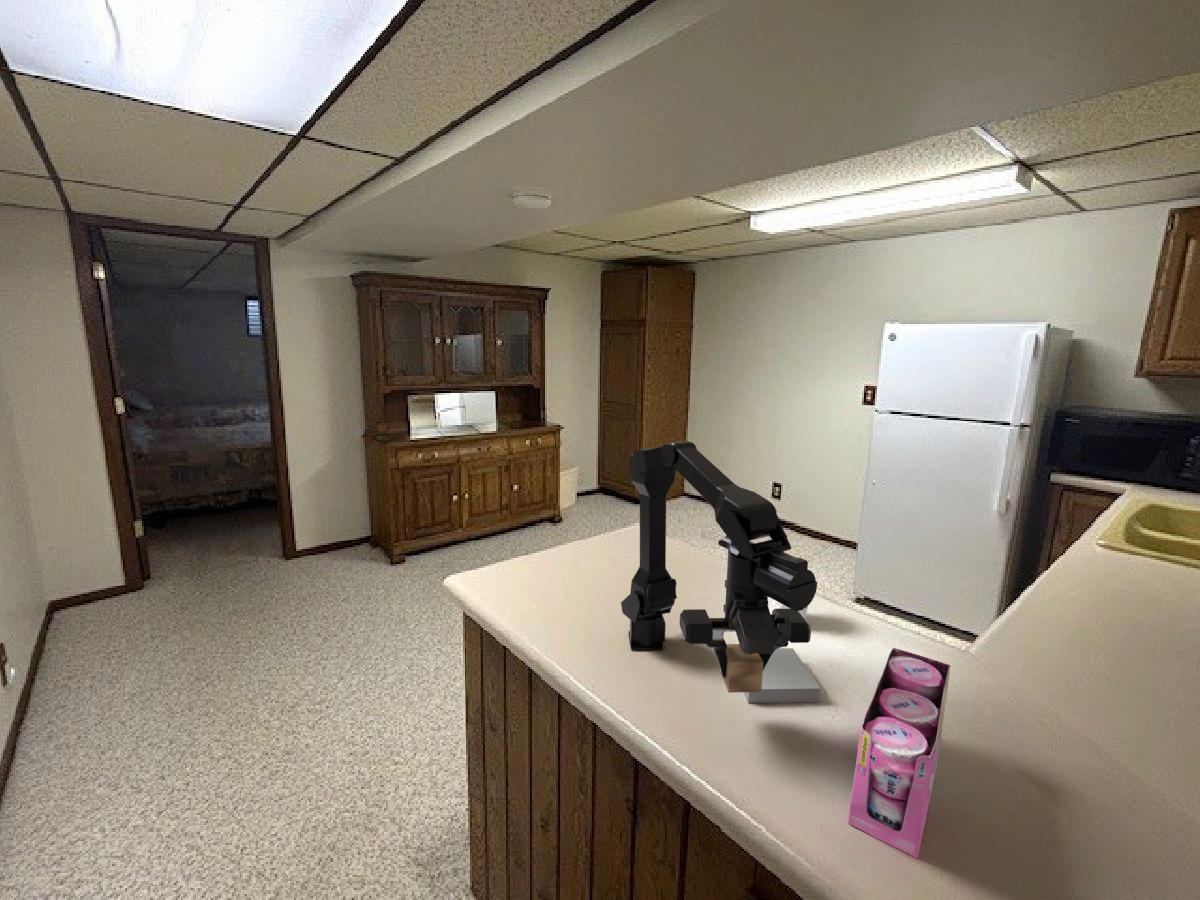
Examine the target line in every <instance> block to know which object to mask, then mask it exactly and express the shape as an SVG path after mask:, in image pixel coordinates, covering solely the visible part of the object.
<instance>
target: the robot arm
mask: <svg viewBox="0 0 1200 900" xmlns="http://www.w3.org/2000/svg"><path fill="white" fill-rule="evenodd" d="M628 464H629V470H630V479H631V482H632V484H633V485H634V487H635V488H636V490H637V493H639V567H638V568H637V570H636V572H635V573H634V575H633V577H632V579H631V583H630V592H629V593H630V594H628V596H626V597H625V598H624V599H623V600H622V601H620V602H621V603H620V606H621V607H620V608H621V612H622V614H623V615H624V616H625V617H627V618H628V619H629V630H628V632H627V634H628V639H629V648H630V650H631V651H660V650H664V649H665V645H664V643H665V642H666V628H667V627H666V624H667V623H666V619H665V617H664V616H663V615H665V614H670V613H671V611H672V608H673V606H674V605H675V602H676V599H678V597H677V580H676V579H675V578H673V577H672V576H671V575H670V573H669V571H668V569H667V566H666V565H667V563H666V562H667V561H666V560H667V559H666V556H667V555H666V554H667V553H666V552H667V551H666V550H667V495H668V494H669V492H670V490H671V488H672V487H673V484H674V483H675V481H676V475H677V474H676V473H677V472H678V473H679V475H680V476H682V477H683V479H684V480H686V481H687V482H688V484H690V486H692V488H694V490H696V492H697V493H698V494H699V495H700V496H701V497H702V498H703V499H704V500H705V501H707V502H708V504H710V506H711V508H712V509H713V510H714V519H715V522H716V524H717V525H718V526H719V527H720V529H721V530H722V532H724V535H725V536H724V537H723V538H721V539H720V540H718V543H717V544H718V546H719V547H723V548H724V549H726V550H727V562H726V563H727V565H726V566H727V567H726V570H727V571H726V580H724V587H725V602H724V603H725V604H723V612H724V617H709V614H708V612H707V609H704V608H703V609H700V608H699V609H683V610H682V612H680V615H679V627H680V630H681V633H682V636H683V638H684V641H685V643H687V644H689V645H706V647H708V648H711V649H713V651H714V654H715V656H716V661H717V664H718V666H719V670H721V673H720V675H721V674H722V675H721V677H722V676H723V677H726V648H727V642H726V640H725V638H724V633H726V632H728V633H730V632H733V633H734V632H735V634H736V637H737V641H738V644H739V645H740V649H741V651H742V652H743V653H745V654H754V653H758V654H759V655H760V657H761V659H762V661H763V670H764V668H765V666H766V664H767V662H768V660H769V659H770V657H771V655H772V654H773V653H774V651H775V650H776V649H778V648H787V647H788V645H789V642H790V643H791V644H793V643H794V644H808V643H809V642H811V635H812V629H811V625H810V624H809V622H808V621H807V620H805V619H804V617H803V616H802V615H801V614H800V613H799V611H801V610H803V609H805V608H806V607H807V606H808V607H809V605H811V603H812V602H813V600H814V598H815V595H816V593H817V589H818V582H817V581H816V576H815V573H814V572H813V571H811V570H810V569H808V567H809V561H808V560H807V559H804V558H802V557H796V556H793V555H791V554H789V553H786V552H787V551H791V549H792V546H791V543H790V540H789V539H788V535H787V533H786V532H785V530H784V527H783V525H782V523H781V521H780V518H779V516H778V514H777V511H778V510H777V508H776V507H775V505H774V504H773V503H772V502H771V501H769V500H768V499H766V498H765V497H764V496H762V495H760V494H758V493H757V492H755V491H752V490H749V489H746V488H744V487H740V485H739V486H738V485H737V483H734V481H732V479H730V478H729V477H728V476H727V475H726V474H724V473H723V472H722V471H721V470H720V469H719V468H718V467H717V466H715V464H713V463H712V462H711V461H710V460H709V459H708V458H707V457H706V456H705V455H704V454H702V453H701V452H700V451H699V450H698V449H697V446H696V444H695V443H694V442H693V441H689V440H682V441H673V442H672V441H670V442H668V443H666V444H664V445H662V446H657V447H648V448H640V449H639V448H637V449H636V450H635V451H634V452H633V454H631V455H630V458H629V463H628ZM767 537H770V539H769V540H765V541H759V542H754V541H755V540H758V539H763V538H767ZM769 598H770V599H771V600H772V599H773V600H775V601H777V602H779V603H781V604H783V605H785V606H787V607H788V608H790V609H774V610H773V611H772V610H771V612H770V607H769V600H768V599H769Z"/></svg>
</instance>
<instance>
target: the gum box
mask: <svg viewBox="0 0 1200 900" xmlns="http://www.w3.org/2000/svg"><path fill="white" fill-rule="evenodd" d="M950 671H951V664H948V663H945V662H942V661H939V660H935V659H933V658H930V657H925V656H922V655H921V654H920V655H919V654H916V653H913V652H910V651H907V650H906V651H905V650H903V649H900V648H897V647H892V648H891V650H890V652H889V655H888V657H887V660H886V663H885V666H884V668H883V671H882V674H881V677H880V679H879V681H878V683H877V686H876V689H875V691H874V694H873V697H872V698H871V702H870V704H869V706H868V708H867V710H866V712H865V714H864V717H863V720H862V721H861V725H860V731H859V739H858V746H857V754H856V761H855V762H856V763H855V769H854V776H853V782H852V783H853V784H852V790H851V796H850V805H849V810H848V811H849V812H848V820H847V824H850V825H851V826H853V827H855V828H856V829H859V830H860V831H863V832H865V833H867V834H868V835H869V836H872V837H874V838H876V839H878V840H879V841H881V842H883V843H885V844H887V845H890V846H892V847H894V848H896V849H898V850H900V851H902V852H903V853H906V854H908V855H910V856H911V857H913V858H915V859H918V858H919V855H920V850H921V844H922V839H923V835H924V830H925V826H926V820H927V815H928V811H929V808H930V807H929V806H930V801H931V796H932V791H933V786H934V782H935V777H936V770H937V765H938V762H939V755H940V749H941V741H942V732H943V725H944V719H945V717H944V716H945V710H946V703H947V695H948V688H949V679H950Z"/></svg>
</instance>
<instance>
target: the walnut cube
mask: <svg viewBox="0 0 1200 900" xmlns="http://www.w3.org/2000/svg"><path fill="white" fill-rule="evenodd" d="M726 644H727V643H726ZM719 670H720V669H719ZM719 673H720V675H721V677H722V680H723V683H724V685H725V687H726V691H727V692H728V693H743V692H761V690H762V675H763V661H762V659H761V657H760V655H759V654H758V653H754V654H745V653H743V652H742V651H741V649H740V645H739V643H728V644H727V648H726V677H723V676H722V674H721V670H720V671H719Z"/></svg>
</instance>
